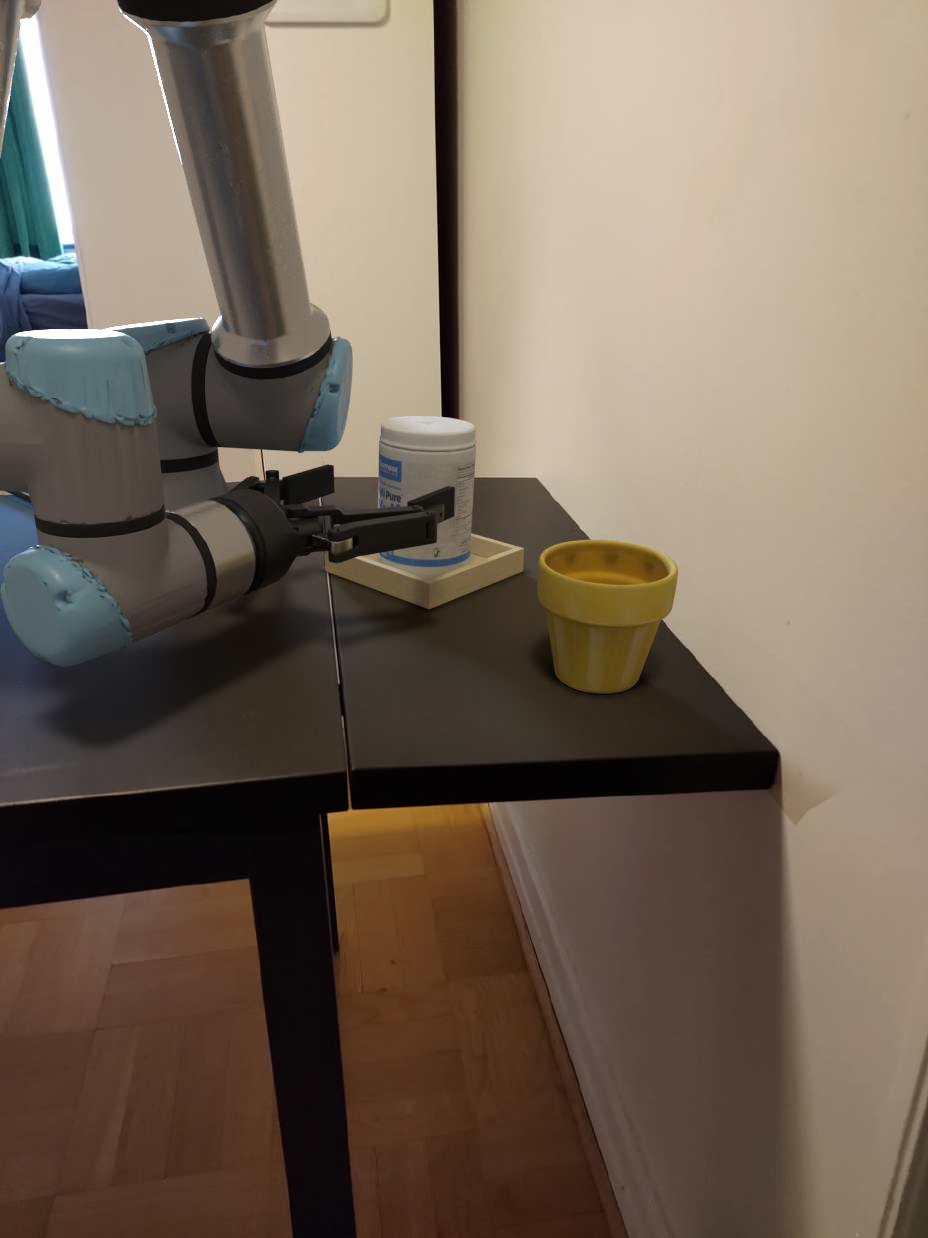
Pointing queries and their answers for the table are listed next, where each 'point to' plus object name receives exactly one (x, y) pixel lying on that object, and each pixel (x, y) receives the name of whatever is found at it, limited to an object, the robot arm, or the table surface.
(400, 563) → the supplement tub
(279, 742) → the table surface
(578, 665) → the flower pot
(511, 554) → the shallow tray
